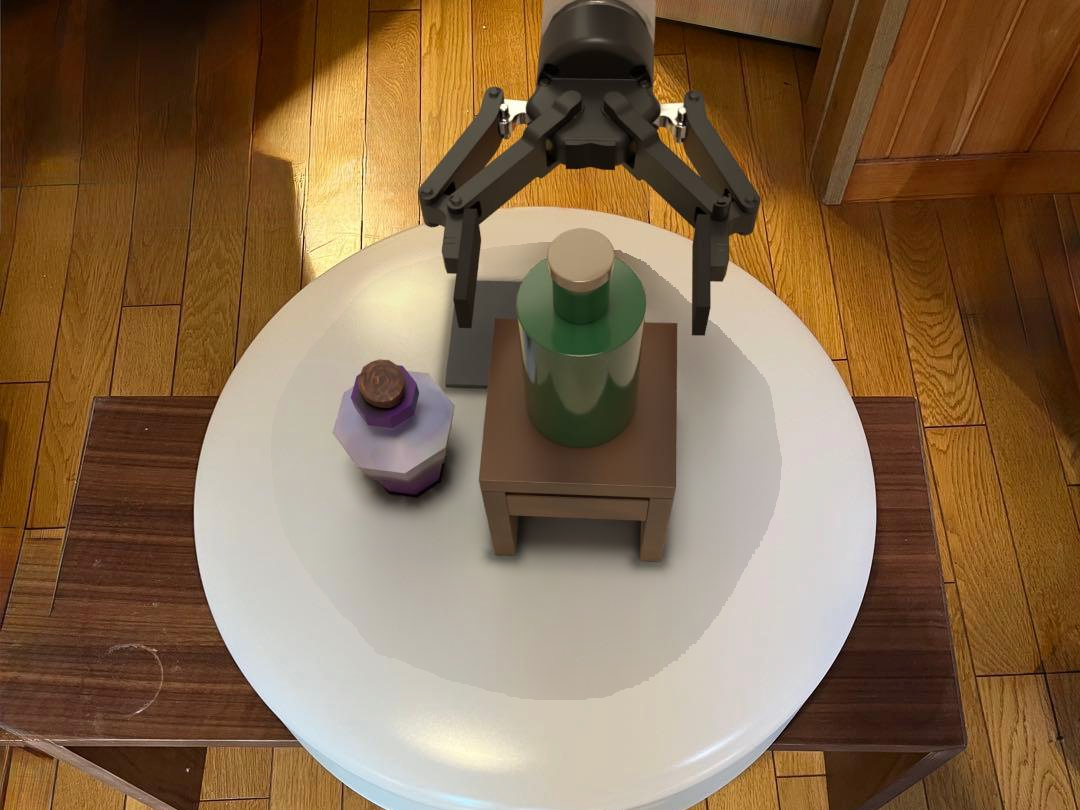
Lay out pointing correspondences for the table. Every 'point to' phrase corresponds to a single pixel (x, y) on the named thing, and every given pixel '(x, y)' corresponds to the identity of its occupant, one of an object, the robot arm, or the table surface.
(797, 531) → the table surface
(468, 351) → the felt mat
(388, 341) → the table surface
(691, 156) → the robot arm
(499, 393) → the walnut table
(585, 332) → the green bottle
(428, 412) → the potion bottle
